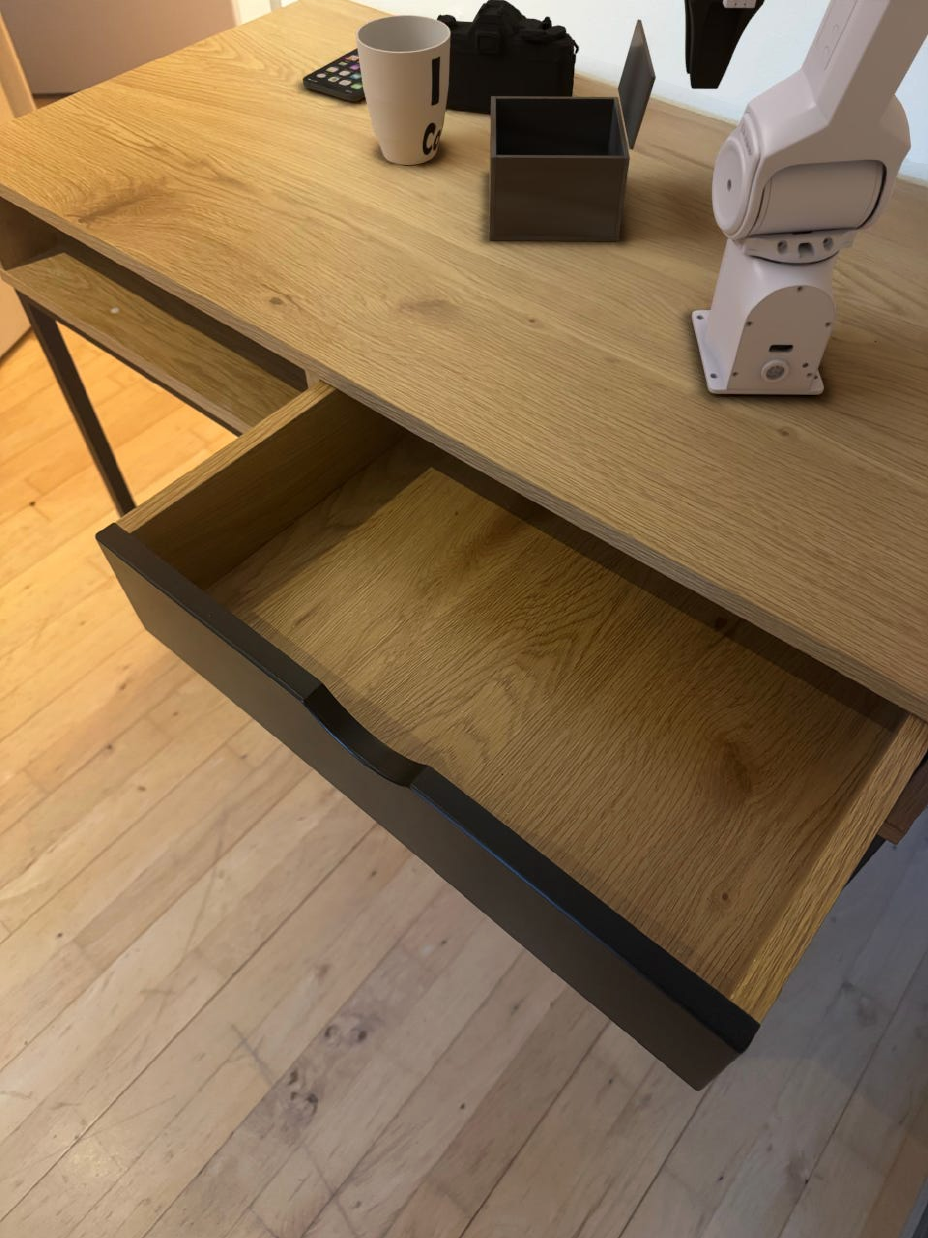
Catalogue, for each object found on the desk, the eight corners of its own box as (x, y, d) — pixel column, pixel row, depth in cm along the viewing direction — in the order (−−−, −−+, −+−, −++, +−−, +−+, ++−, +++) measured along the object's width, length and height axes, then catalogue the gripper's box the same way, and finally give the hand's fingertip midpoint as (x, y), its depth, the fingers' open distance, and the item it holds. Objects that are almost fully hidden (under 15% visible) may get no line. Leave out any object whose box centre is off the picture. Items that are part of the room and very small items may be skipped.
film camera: (585, 84, 94) (594, -17, 87) (566, 126, 88) (575, 21, 81) (445, 68, 97) (443, -31, 89) (418, 108, 91) (414, 5, 84)
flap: (637, 18, 72) (641, 19, 72) (617, 88, 76) (621, 89, 76) (652, 76, 66) (656, 77, 66) (629, 148, 70) (633, 149, 70)
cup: (441, 176, 82) (439, 55, 74) (356, 168, 83) (344, 48, 75) (459, 135, 87) (459, 18, 79) (378, 128, 88) (369, 11, 80)
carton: (489, 176, 82) (491, 95, 77) (608, 177, 82) (618, 96, 77) (489, 240, 76) (491, 156, 70) (618, 241, 76) (630, 157, 70)
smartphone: (439, 46, 98) (355, 96, 91) (440, 53, 99) (355, 103, 91) (385, 31, 101) (298, 79, 93) (385, 38, 101) (299, 86, 94)
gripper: (829, -110, 55) (770, 122, 66) (783, -172, 64) (737, 41, 75) (714, -110, 55) (674, 121, 66) (683, -172, 64) (652, 41, 75)
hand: (701, 79), depth 71 cm, fingers closed
